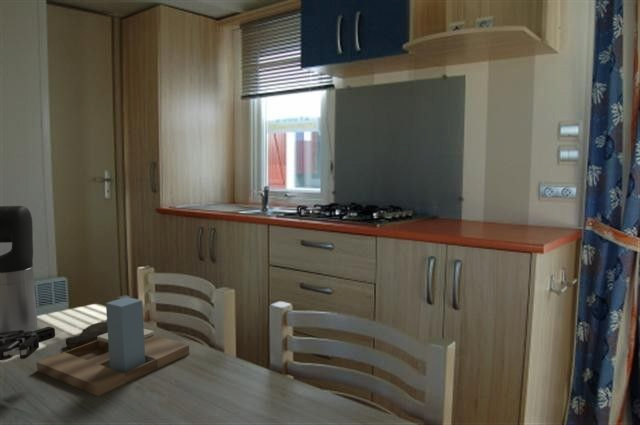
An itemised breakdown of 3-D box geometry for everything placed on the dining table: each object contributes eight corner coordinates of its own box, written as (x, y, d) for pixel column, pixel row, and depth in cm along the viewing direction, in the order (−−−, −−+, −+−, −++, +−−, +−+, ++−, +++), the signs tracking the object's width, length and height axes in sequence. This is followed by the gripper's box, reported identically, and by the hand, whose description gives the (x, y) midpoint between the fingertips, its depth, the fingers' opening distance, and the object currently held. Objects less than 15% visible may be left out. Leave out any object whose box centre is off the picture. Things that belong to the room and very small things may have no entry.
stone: (73, 354, 113) (72, 342, 112) (54, 341, 120) (53, 330, 120) (144, 334, 126) (144, 323, 126) (123, 324, 133) (123, 314, 133)
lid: (97, 339, 114) (95, 299, 113) (130, 327, 122) (128, 289, 121) (122, 347, 110) (119, 305, 108) (154, 334, 117) (152, 295, 116)
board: (37, 373, 103) (36, 361, 102) (130, 338, 122) (129, 328, 122) (98, 398, 92) (97, 385, 91) (189, 355, 111) (188, 345, 111)
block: (110, 372, 102) (105, 303, 100) (130, 363, 106) (126, 296, 104) (125, 377, 99) (121, 306, 97) (145, 368, 103) (142, 300, 101)
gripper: (-28, 348, 82) (70, 319, 96) (-63, 334, 88) (34, 308, 103) (-24, 391, 82) (73, 355, 97) (-59, 373, 89) (36, 342, 104)
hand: (52, 331), depth 100 cm, fingers closed
